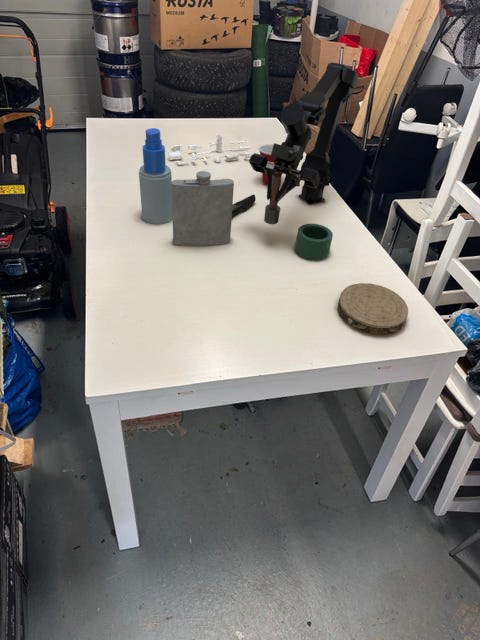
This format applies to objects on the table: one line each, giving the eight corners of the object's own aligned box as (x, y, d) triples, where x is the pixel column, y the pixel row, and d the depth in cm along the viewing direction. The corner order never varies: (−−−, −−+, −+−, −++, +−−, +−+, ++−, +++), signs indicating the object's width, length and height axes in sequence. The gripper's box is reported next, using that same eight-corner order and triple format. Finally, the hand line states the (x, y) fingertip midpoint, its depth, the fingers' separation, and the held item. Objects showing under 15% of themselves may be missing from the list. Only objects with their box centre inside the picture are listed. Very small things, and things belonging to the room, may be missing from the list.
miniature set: (247, 145, 181) (258, 162, 174) (159, 157, 172) (167, 175, 165) (248, 130, 176) (259, 147, 169) (158, 141, 167) (166, 159, 160)
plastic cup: (276, 173, 166) (281, 140, 158) (291, 186, 158) (297, 152, 151) (249, 177, 162) (252, 143, 154) (264, 190, 155) (268, 155, 147)
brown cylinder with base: (272, 215, 127) (278, 170, 119) (281, 222, 125) (288, 176, 117) (261, 219, 126) (266, 173, 117) (269, 225, 123) (275, 179, 115)
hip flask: (229, 237, 131) (233, 169, 117) (231, 244, 128) (236, 176, 115) (172, 239, 128) (170, 170, 114) (174, 247, 125) (172, 177, 111)
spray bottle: (153, 206, 141) (148, 122, 125) (178, 214, 138) (176, 129, 122) (136, 218, 135) (128, 131, 118) (162, 227, 132) (158, 139, 116)
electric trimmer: (258, 205, 147) (259, 196, 145) (227, 221, 137) (228, 212, 135) (248, 201, 148) (249, 192, 146) (218, 217, 139) (218, 207, 137)
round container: (315, 239, 133) (318, 220, 129) (335, 256, 127) (339, 237, 123) (288, 246, 129) (291, 227, 125) (307, 263, 123) (311, 244, 119)
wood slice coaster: (416, 332, 105) (421, 323, 103) (352, 339, 102) (355, 329, 100) (386, 290, 117) (389, 280, 115) (327, 295, 113) (329, 285, 111)
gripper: (255, 121, 116) (231, 178, 115) (324, 138, 110) (299, 198, 109) (265, 143, 126) (243, 195, 126) (329, 160, 120) (306, 215, 120)
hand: (271, 200), depth 120 cm, fingers closed on brown cylinder with base, 2 cm apart
